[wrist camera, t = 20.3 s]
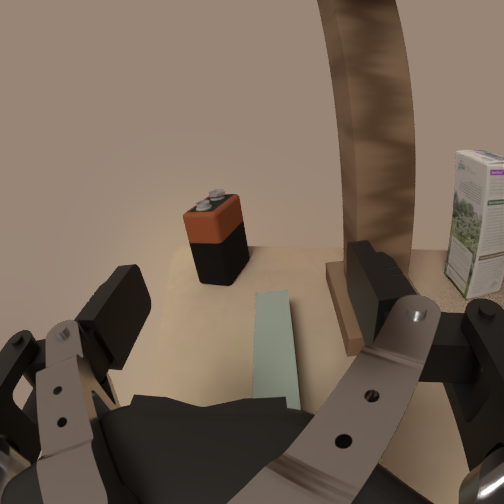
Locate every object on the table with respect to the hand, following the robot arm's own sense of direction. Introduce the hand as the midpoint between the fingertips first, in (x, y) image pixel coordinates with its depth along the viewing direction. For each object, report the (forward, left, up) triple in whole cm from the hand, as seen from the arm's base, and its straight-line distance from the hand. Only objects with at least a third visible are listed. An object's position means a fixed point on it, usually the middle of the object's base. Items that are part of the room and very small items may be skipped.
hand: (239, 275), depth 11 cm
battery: (+6, -23, -13) cm, 27 cm away
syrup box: (-23, -14, -13) cm, 30 cm away
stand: (-10, -13, -13) cm, 21 cm away
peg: (0, -3, -13) cm, 14 cm away
